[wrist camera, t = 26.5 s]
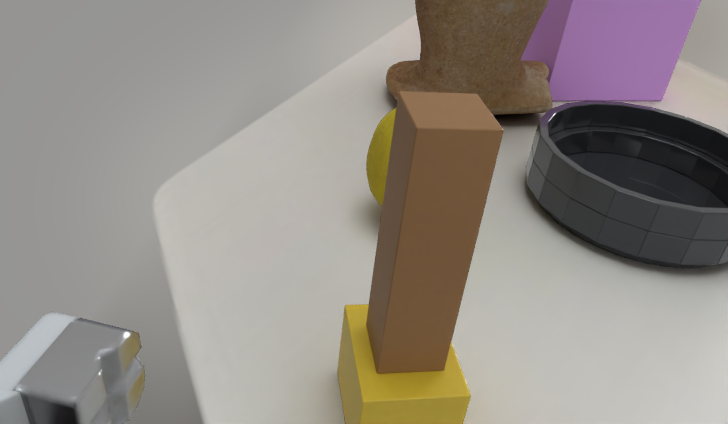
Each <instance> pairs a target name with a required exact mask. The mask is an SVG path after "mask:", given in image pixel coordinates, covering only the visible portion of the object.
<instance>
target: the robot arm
mask: <svg viewBox="0 0 728 424" xmlns="http://www.w3.org/2000/svg"><path fill="white" fill-rule="evenodd" d="M140 349H141V341H140V336H139V333H137V332H134V331H131V330H127V329H123V328H119V327H115V326H111V325H107V324H103V323H99V322H95V321H91V320H87V319H83V318H78V317H73V316H69V315H65V314H60V313H56V312H50V313H48V314H46V315H44V316H42V317H41V318H40V319H39V320H38V321H37V322H36V323H35V324H34V325H33V326H32V328H31V329H30V330H29V331H28V332H27V333H26V334H25V335H24V336H23V337H22V338H21V340H19V341H18V343H17V344H16V345H15V346H14V347H13V348H12V349H11V350H10V351H9V352H8V353H7V354H6V355H5V357H4V358H3V359H2V360H1V361H0V424H124V423H125V422H127V421H129V420H130V418H131V416H132V415H133V413H134V411H135V410H136V408H137V406H138V404H139V401H140V399H141V395H142V393H143V390H144V384H145V369H144V365H143V364H142V363H141V362H140V360H139V359H138V358H137V357H136V355H137V353H138V352H139V350H140Z"/></svg>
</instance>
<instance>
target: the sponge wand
mask: <svg viewBox="0 0 728 424" xmlns="http://www.w3.org/2000/svg"><path fill="white" fill-rule="evenodd" d="M503 131H504V130H503V128H502V127H501V125H500V124H499V123H498V121H497V120H496V119H495V117H494V116H493V115H492V113H491V112H490V111H489V109H488V108H487V107H486V105H485V104H484V103H483V101H482V100H481V99H480V97H479V96H478V95H477V94H466V93H438V92H410V91H399V92H398V98H397V105H396V113H395V120H394V127H393V134H392V141H391V149H390V156H389V163H388V170H387V177H386V184H385V192H384V199H383V206H382V213H381V220H380V227H379V235H378V242H377V249H376V256H375V263H374V271H373V278H372V285H371V292H370V299H369V304H365V305H345V308H344V317H343V326H342V335H341V344H340V353H339V362H338V377H339V384H340V391H341V397H342V404H343V411H344V417H345V424H463V421H464V418H465V414H466V411H467V408H468V404H469V401H470V397H471V394H470V391H469V389H468V386H467V383H466V381H465V378H464V375H463V372H462V370H461V367H460V364H459V361H458V359H457V356H456V353H455V350H454V348H453V345H452V342H451V340H452V336H453V332H454V328H455V324H456V320H457V316H458V312H459V308H460V304H461V300H462V296H463V292H464V288H465V284H466V280H467V276H468V272H469V268H470V264H471V260H472V256H473V252H474V248H475V244H476V240H477V236H478V232H479V228H480V224H481V220H482V216H483V212H484V208H485V203H486V199H487V195H488V191H489V187H490V183H491V179H492V175H493V171H494V167H495V163H496V159H497V155H498V151H499V147H500V143H501V139H502V135H503Z"/></svg>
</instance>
